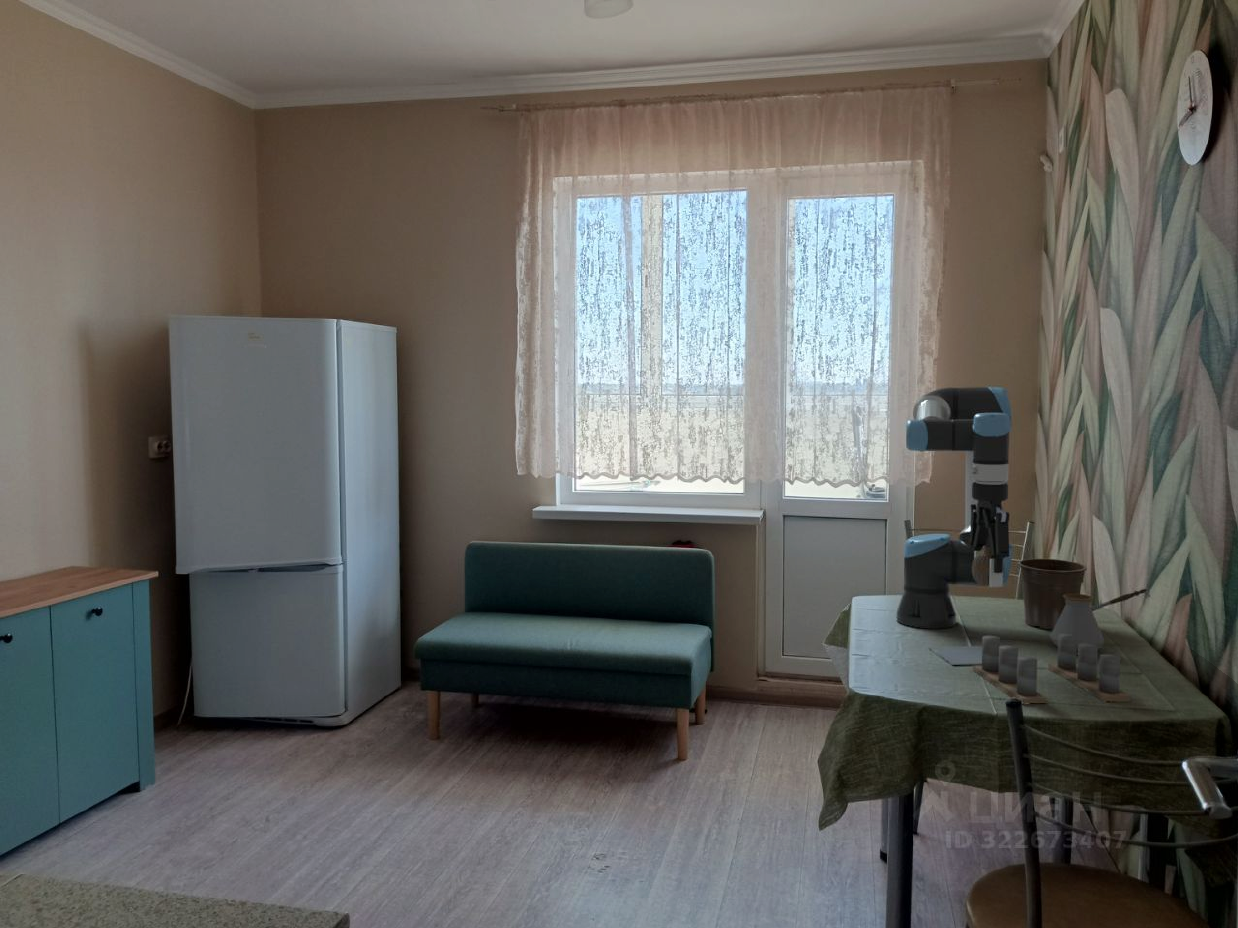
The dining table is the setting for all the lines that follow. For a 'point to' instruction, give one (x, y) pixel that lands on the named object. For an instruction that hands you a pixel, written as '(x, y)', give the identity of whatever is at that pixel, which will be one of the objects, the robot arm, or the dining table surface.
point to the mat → (961, 654)
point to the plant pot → (1048, 588)
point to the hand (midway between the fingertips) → (987, 582)
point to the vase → (983, 566)
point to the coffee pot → (1083, 618)
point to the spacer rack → (1022, 671)
